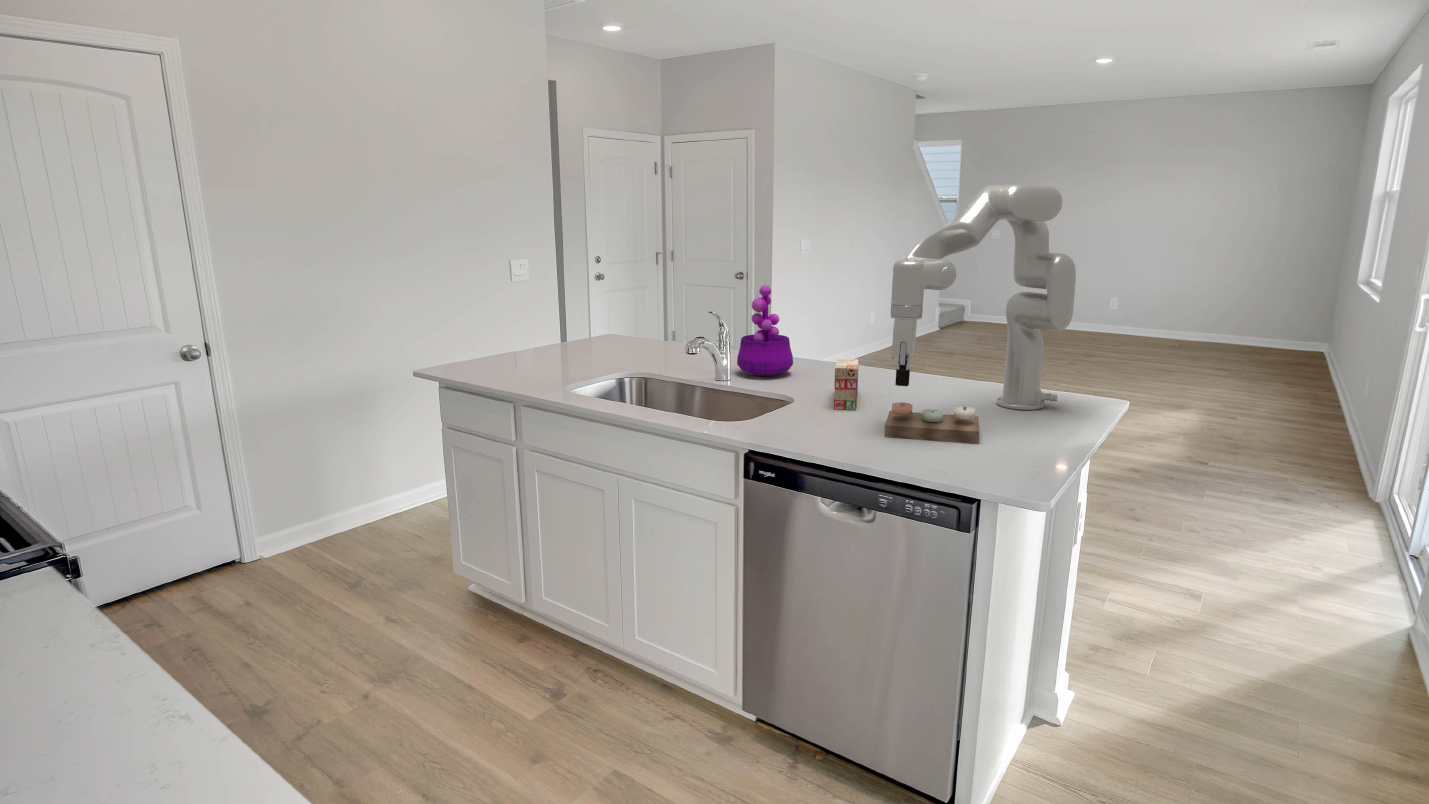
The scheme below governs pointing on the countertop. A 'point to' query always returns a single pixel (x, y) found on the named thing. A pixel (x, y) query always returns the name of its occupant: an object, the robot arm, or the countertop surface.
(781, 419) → the countertop surface
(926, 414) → the sage button
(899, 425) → the button board
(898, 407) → the terracotta button
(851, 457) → the countertop surface
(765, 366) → the decorative plant
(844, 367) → the stack of blocks
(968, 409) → the cream button
